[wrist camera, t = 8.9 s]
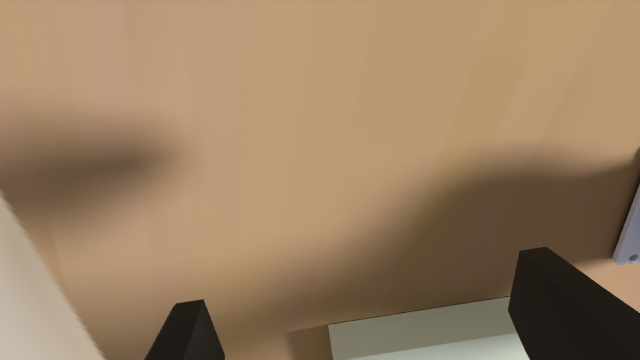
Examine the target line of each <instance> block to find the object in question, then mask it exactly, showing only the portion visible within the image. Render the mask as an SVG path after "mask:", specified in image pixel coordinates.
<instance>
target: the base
mask: <svg viewBox="0 0 640 360" xmlns="http://www.w3.org/2000/svg"><path fill="white" fill-rule="evenodd" d="M509 301H510V297H504V298H498V299H491V300H485V301H478V302H472V303H465V304H459V305H453V306H446V307H440V308H433V309H427V310H421V311H414V312H408V313H401V314H395V315H388V316H382V317H376V318H369V319H363V320H356V321H350V322H344V323H337V324H331V325H328V329H329V336H330V343H331V350H332V357H333V360H530V359H529V357H528V355H527V354H526V352H525V350H524V347H523V345H522V343H521V341H520V338H519V336H518V334H517V332H516V329H515V327H514V325H513V322H512V320H511V317H510V315H509V313H508V306H509Z"/></svg>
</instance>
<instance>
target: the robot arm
mask: <svg viewBox="0 0 640 360" xmlns="http://www.w3.org/2000/svg"><path fill="white" fill-rule="evenodd" d="M613 260H614V261H615V262H616V263H617V264H619V265H624V264H631V263H637V262H640V185H639V187H638V190H637V193H636V195H635V198H634V201H633V203H632V206H631V209H630V211H629V214H628V217H627V220H626V222H625V225H624V228H623V230H622V233H621V236H620V238H619V241H618V244H617V246H616V249H615V252H614V254H613ZM508 313H509V315H510V317H511V320H512V322H513V325H514V327H515V329H516V332H517V334H518V336H519V338H520V341H521V343H522V345H523V347H524V350H525V352H526V354H527V355H528V357H529V359H530V360H640V313H639V312H637V311H636V310H634V309H633V308H632V307H630V306H629V305H627V304H626V303H624V302H623V301H621V300H620V299H619V298H617V297H616V296H614V295H613V294H611V293H610V292H609V291H607V290H606V289H604V288H603V287H602V286H600V285H599V284H597V283H596V282H595V281H593V280H592V279H590V278H589V277H588V276H586V275H585V274H584V273H582V272H581V271H579V270H578V269H577V268H575V267H574V266H572V265H571V264H570V263H568V262H567V261H566V260H564V259H563V258H561V257H560V256H558V255H557V254H556V253H554V252H553V251H551V250H550V249H548V248H547V247H542V248H535V249H529V250H522V251H520V252H519V257H518V262H517V267H516V272H515V276H514V281H513V286H512V291H511V296H510V301H509V306H508ZM144 360H225V354H224V352H223V349H222V347H221V344H220V341H219V339H218V336H217V334H216V331H215V328H214V326H213V323H212V320H211V318H210V315H209V313H208V310H207V307H206V305H205V302H204V300H203V299H202V300H196V301H189V302H183V303H176V304H175V306H174V307H173V308H172V310H171V312H170V314H169V316H168V317H167V319H166V321H165V323H164V325H163V327H162V329H161V330H160V332H159V334H158V336H157V338H156V340H155V341H154V343H153V345H152V347H151V349H150V350H149V352H148V354H147V356H146V357H145V359H144Z"/></svg>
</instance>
